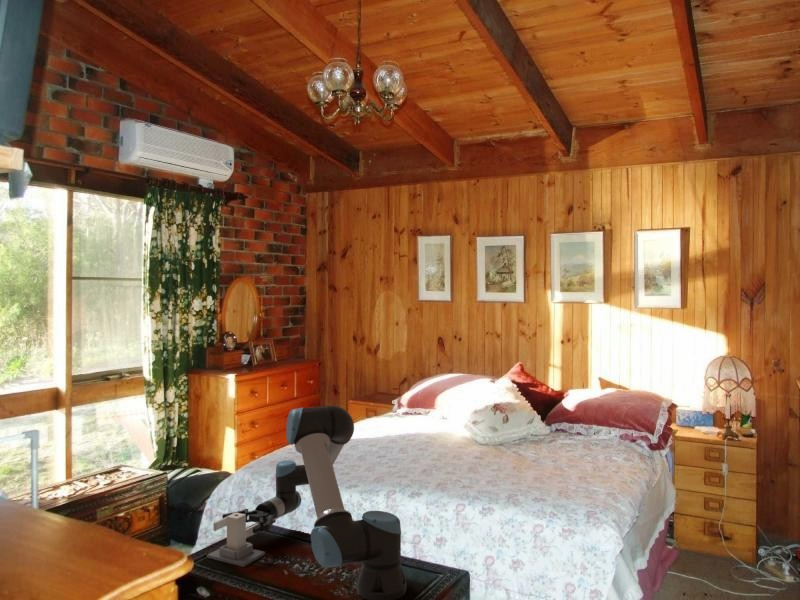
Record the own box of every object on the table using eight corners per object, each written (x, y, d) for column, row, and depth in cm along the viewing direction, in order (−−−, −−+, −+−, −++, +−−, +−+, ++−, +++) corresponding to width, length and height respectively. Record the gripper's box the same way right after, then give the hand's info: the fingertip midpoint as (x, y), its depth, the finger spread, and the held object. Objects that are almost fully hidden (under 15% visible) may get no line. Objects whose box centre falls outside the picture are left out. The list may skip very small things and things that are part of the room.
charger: (245, 552, 219) (245, 513, 219) (236, 556, 215) (236, 517, 215) (235, 549, 221) (235, 511, 221) (226, 554, 217) (226, 515, 217)
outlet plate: (265, 554, 220) (265, 544, 220) (243, 567, 210) (243, 556, 210) (229, 546, 227) (229, 536, 227) (207, 557, 217) (207, 547, 217)
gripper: (297, 526, 229) (258, 548, 210) (243, 515, 240) (201, 534, 221) (297, 506, 229) (258, 525, 210) (243, 495, 240) (201, 513, 221)
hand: (229, 530), depth 215 cm, fingers open, 13 cm apart
